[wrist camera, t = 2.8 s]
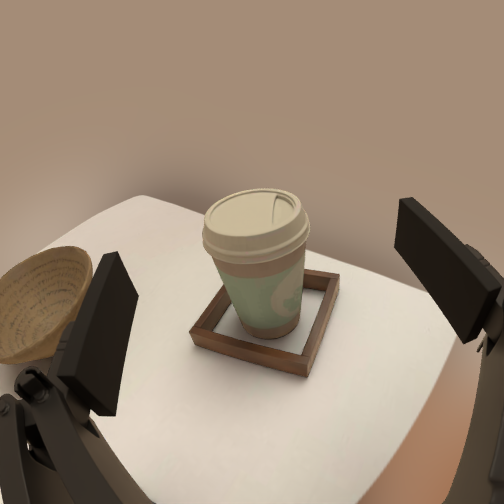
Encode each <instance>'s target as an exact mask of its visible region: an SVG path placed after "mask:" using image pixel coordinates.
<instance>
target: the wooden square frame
mask: <svg viewBox="0 0 504 504" xmlns="http://www.w3.org/2000/svg"><path fill="white" fill-rule="evenodd" d="M339 280H340V275H339V274H335V273H328V272H321V271H315V270H308V269H304V276H303V287H305V288H311V289H317V290H323V291H326V293H325V295H324V298H323V301H322V303H321V306H320V309H319V311H318V314H317V317H316V319H315V322H314V324H313V327H312V330H311V332H310V335H309V337H308V340H307V342H306V345H305V347H304V349H303V352H302V354H301V355H298V354H293V353H289V352H285V351H281V350H277V349H273V348H269V347H265V346H261V345H257V344H253V343H250V342H246V341H242V340H239V339H235V338H232V337H228V336H225V335H221V334H218V333H214V332H212V330H213V329H214V327H215V326H216V324H217V323H218V321H219V320H220V318H221V317H222V315H223V314H224V312H225V311H226V309H227V308H228V306H229V305H230V303H231V302H232V301H231V299H230V297H229V294H228V292H227V290H226V288H225V286H224V284H223V286H222V287H221V289H220V290H219V291H218V293H217V294H216V295H215V297H214V298H213V300H212V301H211V302H210V304H209V305H208V306H207V308H206V309H205V311H204V312H203V313H202V315H201V316H200V318H199V319H198V320H197V322H196V323H195V324H194V326H193V327H192V328H191V330H190V331H189V333H190V335H191V337H192V340H193V342H194V344H195V345H197V346H200V347H203V348H206V349H209V350H212V351H216V352H219V353H222V354H225V355H228V356H231V357H235V358H238V359H241V360H245V361H248V362H251V363H255V364H258V365H262V366H266V367H269V368H273V369H277V370H280V371H284V372H288V373H292V374H296V375H300V376H304V377H308V375H309V373H310V369H311V367H312V365H313V362H314V359H315V357H316V354H317V351H318V349H319V346H320V343H321V341H322V338H323V335H324V332H325V329H326V326H327V324H328V321H329V318H330V315H331V312H332V309H333V306H334V303H335V300H336V297H337V294H338V290H339Z"/></svg>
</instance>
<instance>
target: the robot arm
mask: <svg viewBox="0 0 504 504" xmlns="http://www.w3.org/2000/svg"><path fill="white" fill-rule="evenodd" d="M394 248H395V249H396V250H397V252H398V253H399V254H400V255H401V256H402V258H403V259H404V260H405V262H406V263H407V264H408V266H409V267H410V268H411V270H412V271H413V272H414V274H415V275H416V276H417V278H418V279H419V280H420V282H421V283H422V284H423V286H424V287H425V288H426V290H427V291H428V293H429V294H430V295H431V297H432V298H433V300H434V301H435V302H436V304H437V305H438V307H439V308H440V310H441V311H442V313H443V314H444V315H445V317H446V318H447V320H448V321H449V323H450V324H451V326H452V327H453V329H454V331H455V332H456V334H457V335H458V337H459V338H460V340H461V341H462V343H463V344H466V343H468V342H470V341H472V340H474V339H476V338H477V337H478V335H479V333H480V332H481V330H482V328H483V329H484V331H485V332H486V335H485V337H484V338H483V340H482V342H481V344H480V345H479V347H478V349H477V352H479V351H480V349H481V348H482V347H483V351H482V360H481V368H480V375H479V382H478V388H477V394H476V399H475V404H474V409H473V414H472V418H471V423H470V427H469V431H468V435H467V439H466V443H465V446H464V450H463V453H462V456H461V459H460V463H459V466H458V469H457V472H456V475H455V478H454V480H453V483H452V486H451V488H450V491H449V494H448V496H447V498H446V499H445V501H444V502H443V503H442V504H504V278H503V277H502V276H501V275H500V274H499V273H498V272H497V271H496V269H495V268H493V266H492V265H490V263H489V262H488V261H487V260H486V259H484V257H483V256H482V255H481V254H480V253H479V252H478V251H477V250H476V249H474V248H473V247H471V246H469V245H468V244H466V245H464V244H463V243H462V242H461V241H459V239H458V238H457V237H456V236H455V235H454V234H453V233H452V232H450V230H448V229H447V228H446V227H445V226H444V225H443V224H442V223H441V222H440V221H439V220H438V219H437V218H435V217H434V216H433V215H432V214H431V213H430V212H429V211H428V210H427V209H426V208H424V207H423V206H422V205H421V204H420V203H419V202H418V201H416V200H415V199H414V198H413V197H410V198H403V199H399V209H398V219H397V228H396V237H395V244H394ZM138 297H139V295H138V293H137V291H136V289H135V287H134V285H133V283H132V281H131V279H130V277H129V275H128V273H127V271H126V269H125V267H124V264H123V262H122V260H121V258H120V256H119V253H118V251H116V252H112V253H107V254H103V256H102V258H101V261H100V263H99V265H98V267H97V269H96V272H95V274H94V276H93V278H92V281H91V283H90V285H89V288H88V290H87V292H86V295H85V297H84V299H83V302H82V304H81V307H80V309H79V312H78V314H77V317H76V320H75V321H70V322H69V323H68V325H67V326H66V327H65V329H64V330H63V332H62V334H61V337H60V340H59V343H58V345H57V348H56V352H55V353H54V356H53V359H52V362H51V365H50V368H49V371H48V374H47V377H46V376H45V375H44V374H43V373H42V372H41V371H40V370H39V368H37V367H34V366H32V367H28V368H26V369H24V370H23V371H22V372H21V373H20V374H19V375H18V377H17V379H16V381H15V385H14V389H15V392H16V393H17V394H18V395H19V396H20V397H21V398H22V399H21V400H16V399H15V398H14V397H13V396H12V395H10V394H4V395H2V396H1V397H0V488H1V494H2V499H3V503H4V504H153V503H152V502H151V500H150V499H149V498H148V497H147V496H146V494H145V493H144V492H143V491H142V490H141V488H140V487H139V486H138V485H137V483H136V482H135V481H134V479H133V478H132V477H131V476H130V474H129V473H128V472H127V470H126V469H125V468H124V466H123V465H122V463H121V462H120V461H119V459H118V458H117V456H116V455H115V454H114V452H113V451H112V449H111V448H110V446H109V445H108V443H107V442H106V440H105V439H104V437H103V435H102V434H101V432H100V431H99V429H98V428H97V426H96V424H95V423H94V421H93V420H92V419H91V418H90V417H89V415H90V409H91V410H92V411H94V412H95V413H96V414H97V415H98V416H116V410H117V403H118V397H119V390H120V384H121V378H122V373H123V367H124V362H125V356H126V351H127V346H128V341H129V337H130V332H131V327H132V323H133V318H134V314H135V310H136V305H137V301H138ZM27 443H28V444H29V450H28V447H27Z"/></svg>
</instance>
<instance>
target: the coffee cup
mask: <svg viewBox="0 0 504 504" xmlns="http://www.w3.org/2000/svg"><path fill="white" fill-rule="evenodd" d="M309 233H310V223H309V220H308V216H307V214H306V212H305V211H304V210H303V207H302V205H301V202H300V200H299V199H298V198H297V197H296V196H295V195H293V194H291V193H289V192H286V191H283V190H278V189H252V190H246V191H242V192H238V193H235V194H232V195H229V196H227V197H225V198H223V199H221V200H219V201H218V202H216V203H215V204H214V205H212V206H211V207H210V208H209V210H208V211H207V212H206V214H205V217H204V228H203V232H202V237H203V246H204V248H205V250H206V251H207V253H208V254H210V255H211V256H212V258H213V261H214V263H215V265H216V268H217V270H218V272H219V274H220V277H221V279H222V281H223V283H224V286H225V288H226V290H227V292H228V294H229V297H230V299H231V301H232V303H233V306H234V308H235V310H236V312H237V314H238V316H239V318H240V321H241V323H242V325H243V327H244V329H245V330H246V331H247V332H248V333H249V334H251V335H252V336H255V337H257V338H261V339H274V338H279V337H282V336H284V335H286V334H288V333H289V332H291V331H292V330H293V329H294V328H295V327H296V325H297V324H298V322H299V319H300V310H301V300H302V288H303V276H304V262H305V248H306V239H307V238H308V236H309Z"/></svg>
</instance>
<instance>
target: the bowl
mask: <svg viewBox="0 0 504 504" xmlns="http://www.w3.org/2000/svg"><path fill="white" fill-rule="evenodd" d="M92 275H93V268H92V262H91V259H90V257H89V255H88V254H87V252H86V251H84V250H83V249H81V248H79V247H74V246H65V247H57V248H51V249H48V250H45V251H43V252H40V253H38V254H35V255H33V256H31V257H29V258H28V259H26V260H24V261H23V262H21V263H19V264H18V265H16V266H15V267H13V268H12V269H10V270H9V271H8V272H7V273H6V274H5V275H3V276H2V278H1V279H0V364H19V363H23V362H28V361H32V360H39V359H44V358H48V357H51V356H53V355H54V353H55V352H56V348H57V345H58V343H59V340H60V337H61V334H62V332H63V330H64V329H65V327H66V326H67V325H68V323H69V322H70V321H75V320H76V317H77V314H78V312H79V309H80V307H81V304H82V302H83V299H84V297H85V295H86V292H87V290H88V288H89V285H90V283H91V281H92Z"/></svg>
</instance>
